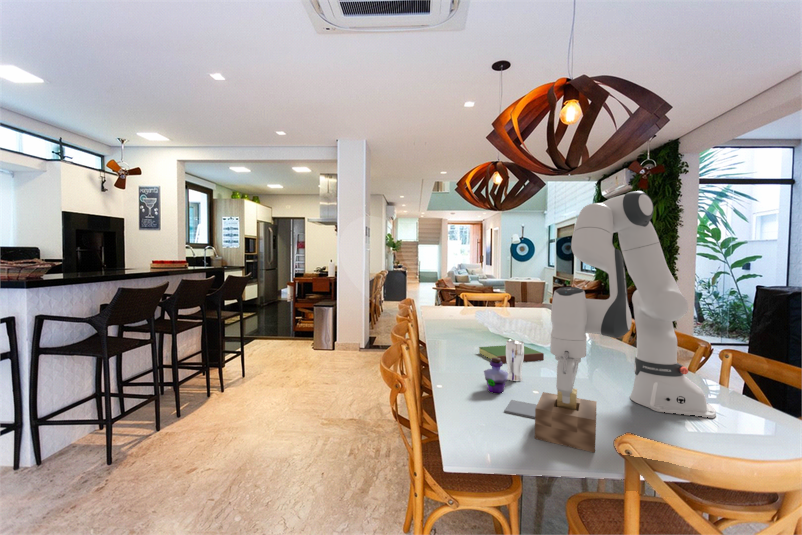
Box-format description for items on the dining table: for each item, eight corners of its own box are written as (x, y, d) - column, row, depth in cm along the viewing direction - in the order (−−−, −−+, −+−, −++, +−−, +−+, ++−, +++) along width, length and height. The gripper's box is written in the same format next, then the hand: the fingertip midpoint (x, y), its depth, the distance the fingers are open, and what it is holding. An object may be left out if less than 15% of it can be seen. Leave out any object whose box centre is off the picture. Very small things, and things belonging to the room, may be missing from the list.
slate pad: (543, 407, 117) (543, 405, 117) (538, 419, 108) (538, 417, 108) (511, 401, 122) (511, 399, 122) (504, 412, 113) (504, 410, 113)
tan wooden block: (576, 418, 100) (577, 389, 100) (575, 424, 96) (576, 394, 96) (558, 414, 102) (559, 386, 102) (556, 420, 98) (557, 391, 98)
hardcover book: (498, 364, 167) (498, 356, 167) (478, 354, 185) (478, 347, 185) (544, 361, 174) (545, 353, 174) (521, 351, 192) (521, 344, 192)
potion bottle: (481, 393, 129) (482, 359, 128) (485, 385, 137) (485, 353, 136) (507, 397, 126) (507, 362, 125) (509, 388, 134) (509, 356, 134)
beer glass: (524, 383, 140) (525, 344, 140) (505, 381, 142) (506, 343, 142) (522, 377, 147) (523, 340, 147) (504, 376, 149) (505, 339, 148)
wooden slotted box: (595, 429, 102) (596, 401, 102) (594, 452, 89) (595, 420, 89) (542, 418, 108) (543, 392, 108) (534, 438, 96) (535, 408, 96)
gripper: (578, 358, 88) (577, 415, 88) (582, 342, 106) (581, 389, 106) (550, 354, 91) (549, 409, 91) (559, 339, 109) (558, 385, 109)
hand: (567, 398), depth 99 cm, fingers closed on tan wooden block, 4 cm apart
